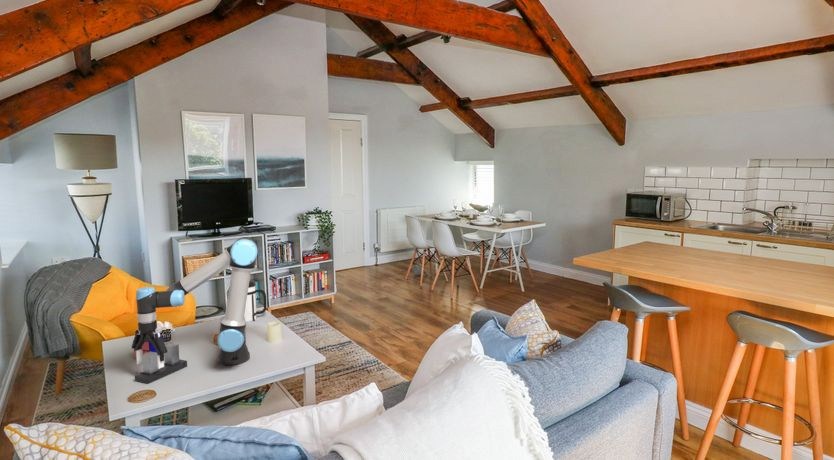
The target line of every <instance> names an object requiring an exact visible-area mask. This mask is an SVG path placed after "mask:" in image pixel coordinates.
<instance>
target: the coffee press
mask: <svg viewBox="0 0 834 460" xmlns="http://www.w3.org/2000/svg"><path fill="white" fill-rule="evenodd" d="M256 286H257V284H256V282H255V281H254V280H251V279H250V280H249V287H248V293H247V300H246V306H245V313H244V317H245V322H246V323H249V322H255V321H256V319H257V315H261V314H263V313H266V311H267V294H266V291H264V290H263V289H256ZM257 293H259V294H260V293H261V294H262V296H263V297H262V298H263V309H262V310H257V298H256V297H257V296H256V294H257Z"/></svg>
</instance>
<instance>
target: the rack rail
mask: <svg viewBox="0 0 834 460" xmlns="http://www.w3.org/2000/svg"><path fill="white" fill-rule="evenodd" d="M179 361H180V363H178V364H176V365H173V366H168V365H165V362H164V367H162V368H160V369H158V372H157V373H155V374H152V375H150V376H148V375H144V374H143V371H141V372H139V373H137V374H135V375H134V382H136V383H140V384H145V385H149V384H151V383H153V382H156V381H158V380H160V379H162V378H165V377H167V376H169V375H171V374H174V373H176V372H178V371H181V370H183V369H185V368H187V367H188V361H187V359H186V360H185V359H180V358H179Z"/></svg>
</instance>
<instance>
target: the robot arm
mask: <svg viewBox="0 0 834 460" xmlns="http://www.w3.org/2000/svg"><path fill="white" fill-rule="evenodd" d="M257 256H258V244H257V242H256V241H255V239H252V238H251V237H248V236H243V237H239V238H238V239H236V240H235V241H234V242H233V243H232V244H230V245H229V246H227V247H226V248H225V251H224V252H222V253H220V254H219V255H218V256H216V257H214V258H213V259H211V260H210V261H208V262H206V263H205V264H203V265H202V266H200V267H198V268H197V269H195V270H193V271H192V272H191V273H188V275H186V276H185V277H183V278H181V279H180V280H179V281H176V283H175V282H174V283H172V284H171V285H169V286H168V288H167V289H166V290H162V291H161V290H160V291H157V290H156V289H155V287H153V286H145V287H140V288H137V289H136V298H135V301H136V315H137V322H138V323H137V327H138V329H136V330H135V331H134V333H135V335H134V337H133V340H132V344H131V349H133V351H134V350H135V352H136V359H135V360H136V365H137V366H139V365H141V364H143V363H142V355H143V353H142V349H141V348H142V346H143V344H144V342H145V341H148V342H150V343H152V345H153V346H154V348H155V350H156V351H157V353H158V355H157V363H158V369H160V368H162V367H164V363H165V353H167V352H168V351H167V348H166V344H165V341H164V338H163V339H162V336H163V334H161V332H159V333H156V331H155V330H156V328H157V322H158V321H157V308H172V307H173V308H176V307H181V306H184V304H185V299H186V297H185V296H187V295H188V294H189V293H191V292H192V291H194V290H196V289H197V288H199V287H200V286H201V285H203V284H205V283H206V282H208V281H210V280H211V279H213V278H214V277H216V276H217V275H219V274H220V273H222V272H224V271H225V270H227V269H228V268H229V267H230V269H231V272H230V281H229V287H228V294H227V302H226V307H225V313H224V314H225V315H224V316H222V317H221V318H220V322H219V323H220V325H219V331H218V336H217V340H216V341H217V345H218V346H217V347H219V349H220V351H219V355H218V363H219V364H221V365H223V366H235V365H240V364H244V363H247V362H248V361H249V360H250V359H251V352H250V351H249V349H248V345H247V342H246V341H247V340H246V339H247V337H246V336H247V335H246V329H247V328H246V327H247V322H245V317H244V313H245V306H246V300H247V293H248V287H249V280H251V279H250V278H251V273H252V271H253V270H254V269H255V268H256V261H257ZM154 339H155V340H154Z"/></svg>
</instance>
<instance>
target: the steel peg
mask: <svg viewBox="0 0 834 460" xmlns="http://www.w3.org/2000/svg"><path fill="white" fill-rule="evenodd" d="M141 364H142V372H143V374H144V375H148V376H150V375H152V374H155V373H157V372H158V363H157V353H156V352H148V353H145V354H143V355H142V363H141Z"/></svg>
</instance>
